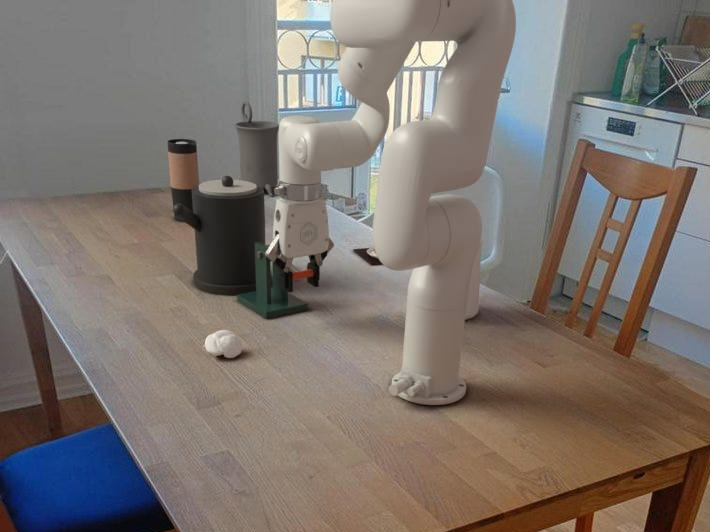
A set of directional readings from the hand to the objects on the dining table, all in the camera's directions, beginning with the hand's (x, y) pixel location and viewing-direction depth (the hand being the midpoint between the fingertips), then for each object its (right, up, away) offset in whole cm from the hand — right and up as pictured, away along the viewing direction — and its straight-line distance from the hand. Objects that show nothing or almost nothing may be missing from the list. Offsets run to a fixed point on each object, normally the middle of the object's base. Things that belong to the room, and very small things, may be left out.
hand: (300, 286), depth 153 cm
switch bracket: (-7, -1, +11) cm, 13 cm away
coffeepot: (+31, -3, +11) cm, 33 cm away
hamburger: (+18, +18, +43) cm, 50 cm away
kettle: (-19, +7, +22) cm, 30 cm away
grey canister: (-21, +54, +97) cm, 113 cm away
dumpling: (-13, -15, -11) cm, 23 cm away
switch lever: (-3, +4, +3) cm, 6 cm away
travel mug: (-36, +35, +65) cm, 82 cm away
